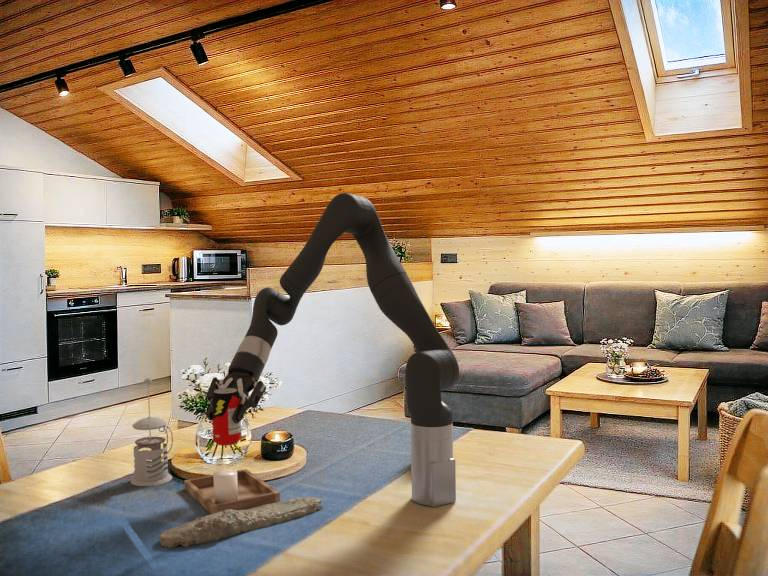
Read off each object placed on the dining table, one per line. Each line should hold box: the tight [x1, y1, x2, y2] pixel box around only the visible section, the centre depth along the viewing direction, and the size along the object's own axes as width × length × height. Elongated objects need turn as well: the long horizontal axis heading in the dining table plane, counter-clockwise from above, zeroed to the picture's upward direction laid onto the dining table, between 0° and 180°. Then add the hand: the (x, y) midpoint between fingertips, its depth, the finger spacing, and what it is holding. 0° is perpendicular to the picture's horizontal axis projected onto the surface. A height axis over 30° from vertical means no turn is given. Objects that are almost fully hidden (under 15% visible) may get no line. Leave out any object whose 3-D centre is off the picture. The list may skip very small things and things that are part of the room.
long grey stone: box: [159, 496, 323, 548], centre depth 148 cm, size 35×5×10 cm
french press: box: [130, 377, 174, 487], centre depth 179 cm, size 10×12×25 cm
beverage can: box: [211, 388, 242, 446], centre depth 166 cm, size 6×6×12 cm
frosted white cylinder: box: [212, 469, 238, 504], centre depth 158 cm, size 5×5×7 cm
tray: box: [183, 468, 281, 515], centre depth 164 cm, size 20×15×3 cm
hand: (222, 420), depth 165 cm, fingers closed on beverage can, 6 cm apart
